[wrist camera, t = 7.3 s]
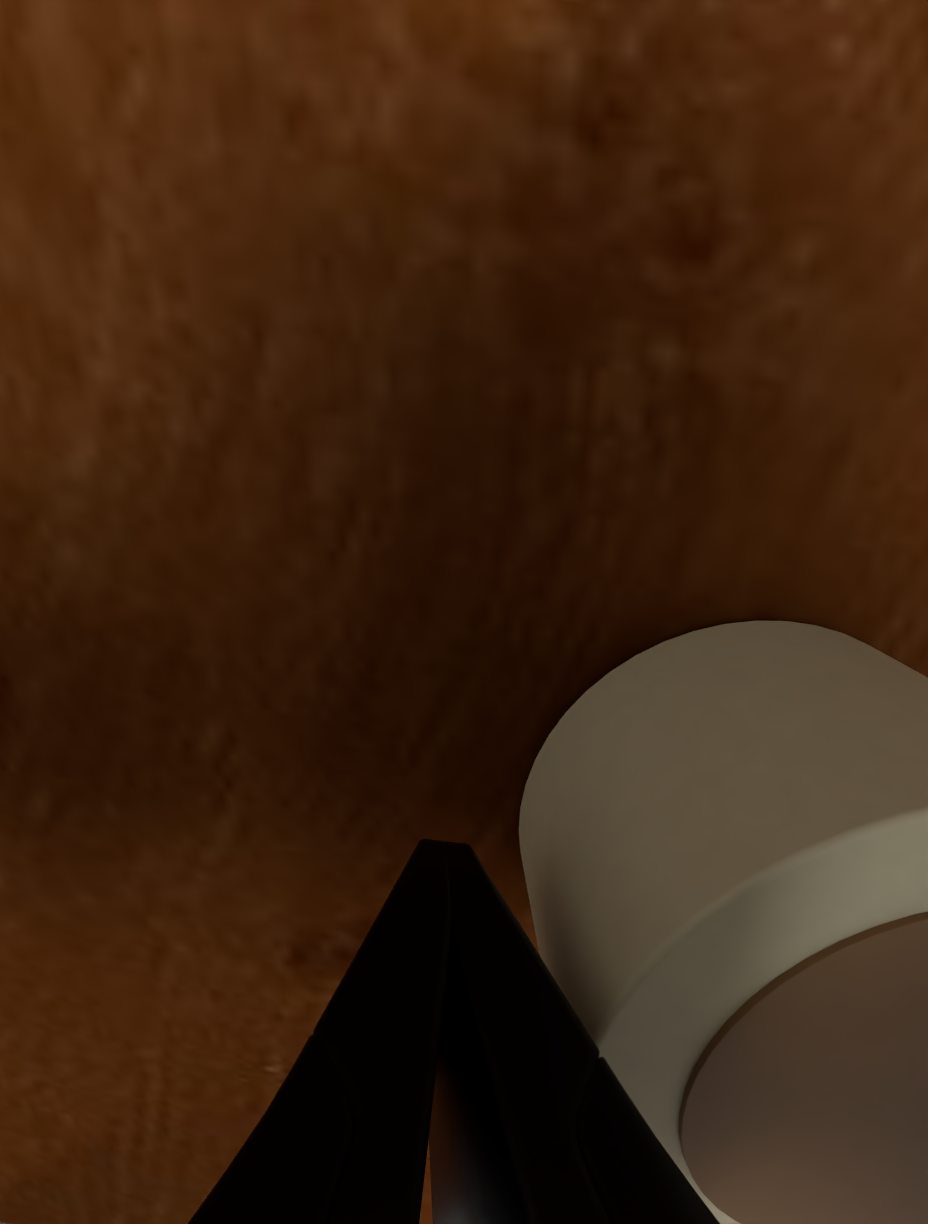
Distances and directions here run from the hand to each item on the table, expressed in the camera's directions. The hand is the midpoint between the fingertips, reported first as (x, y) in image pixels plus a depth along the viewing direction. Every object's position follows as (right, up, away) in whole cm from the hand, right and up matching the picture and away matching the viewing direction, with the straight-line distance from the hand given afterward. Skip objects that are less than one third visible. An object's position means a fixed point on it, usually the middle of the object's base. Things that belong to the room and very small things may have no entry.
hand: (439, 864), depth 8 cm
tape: (+5, 0, +3) cm, 6 cm away
